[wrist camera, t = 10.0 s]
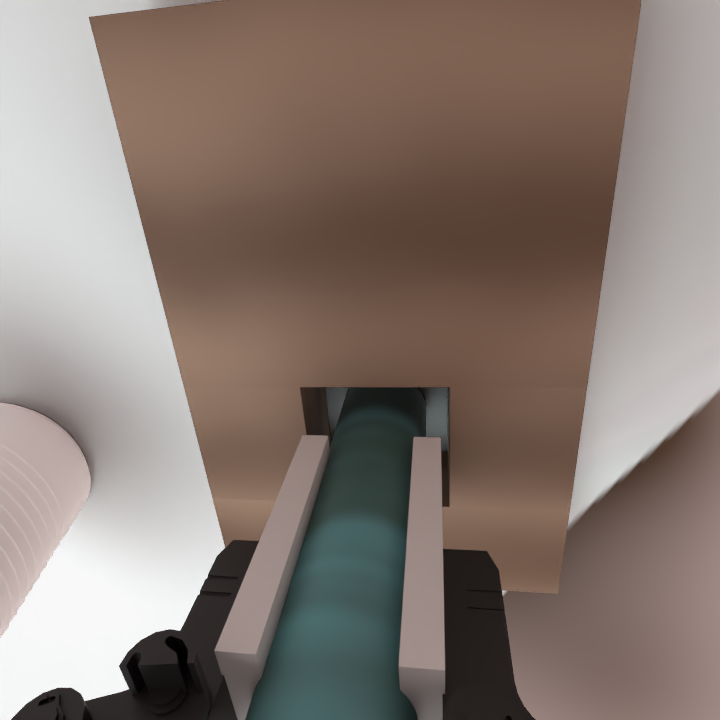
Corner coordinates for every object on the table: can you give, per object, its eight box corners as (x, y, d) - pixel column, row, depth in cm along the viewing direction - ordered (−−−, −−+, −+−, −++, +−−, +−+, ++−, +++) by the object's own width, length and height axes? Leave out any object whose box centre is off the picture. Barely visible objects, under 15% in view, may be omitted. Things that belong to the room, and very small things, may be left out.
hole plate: (153, 35, 14) (88, 17, 12) (602, -17, 12) (648, -52, 10) (256, 518, 22) (232, 574, 19) (541, 530, 20) (558, 593, 18)
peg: (340, 373, 18) (121, 986, 5) (425, 373, 17) (404, 1043, 5) (347, 443, 19) (184, 1067, 7) (426, 444, 19) (412, 1118, 6)
